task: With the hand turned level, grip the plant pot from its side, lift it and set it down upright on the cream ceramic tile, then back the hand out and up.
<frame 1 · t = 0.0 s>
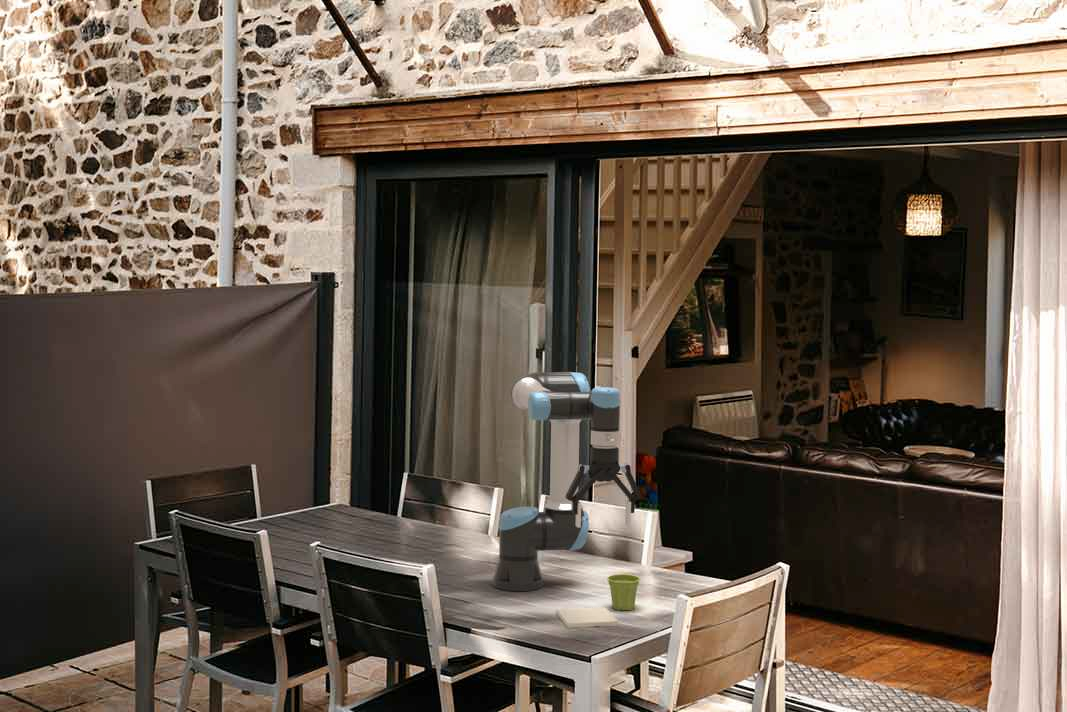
hand: (603, 526, 329), 28 cm above the table, tool pointing down, fingers open, 13 cm apart
plant pot: (623, 608, 353), on the table
tile: (586, 619, 341), on the table
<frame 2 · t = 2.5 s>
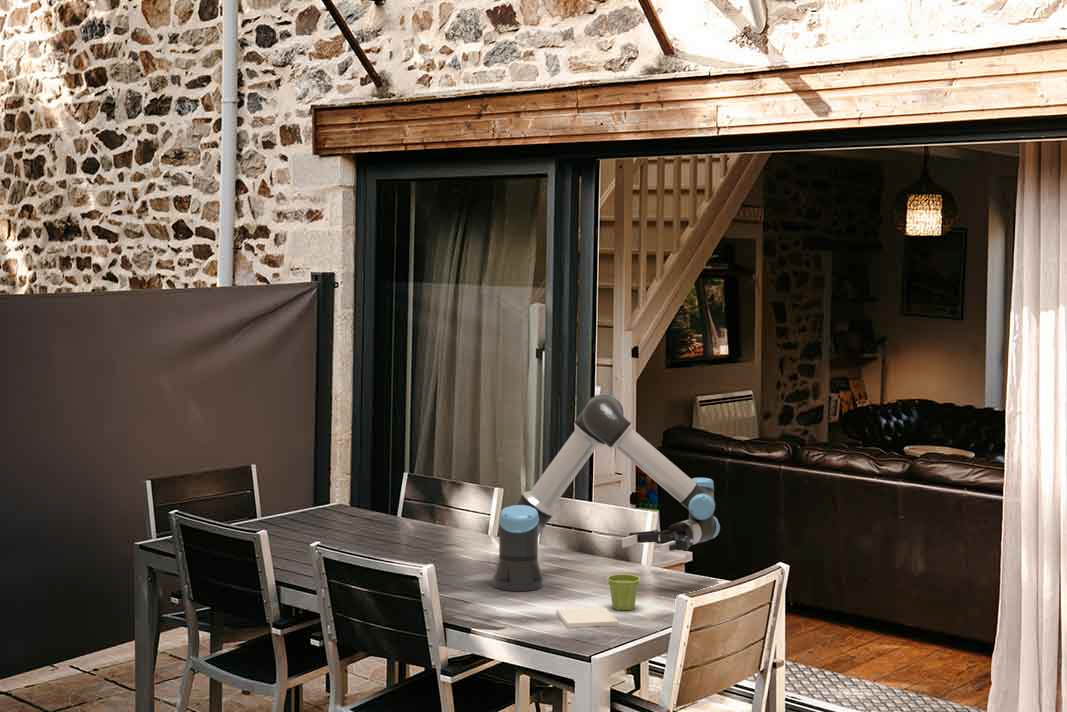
hand: (641, 546, 359), 16 cm above the table, tool horizontal, fingers open, 13 cm apart
nothing on the table moved.
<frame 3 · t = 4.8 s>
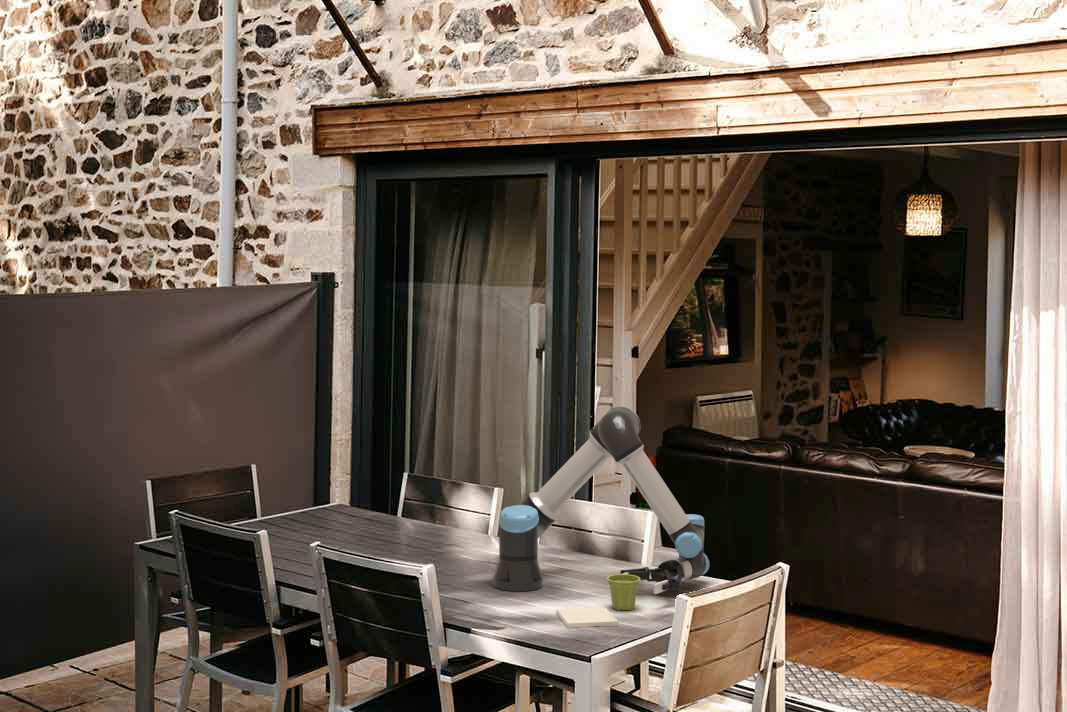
hand: (634, 585, 356), 6 cm above the table, tool horizontal, fingers open, 13 cm apart
nothing on the table moved.
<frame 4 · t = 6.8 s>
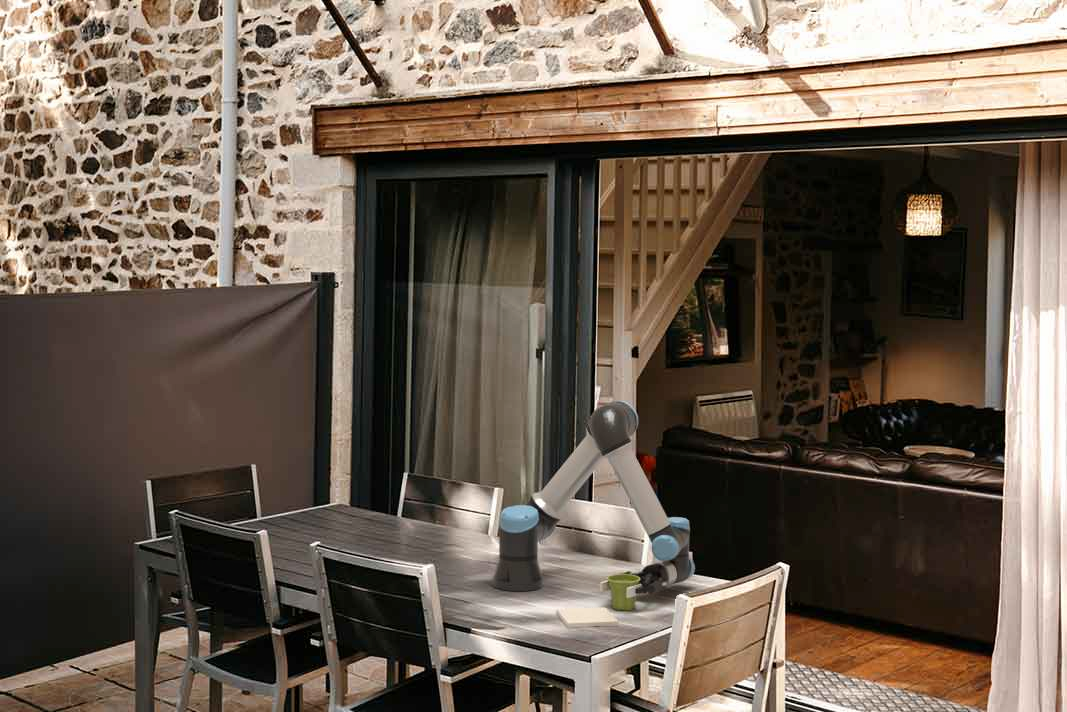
hand: (614, 590, 349), 6 cm above the table, tool horizontal, fingers closed on plant pot, 8 cm apart
plant pot: (623, 608, 353), on the table, touching gripper
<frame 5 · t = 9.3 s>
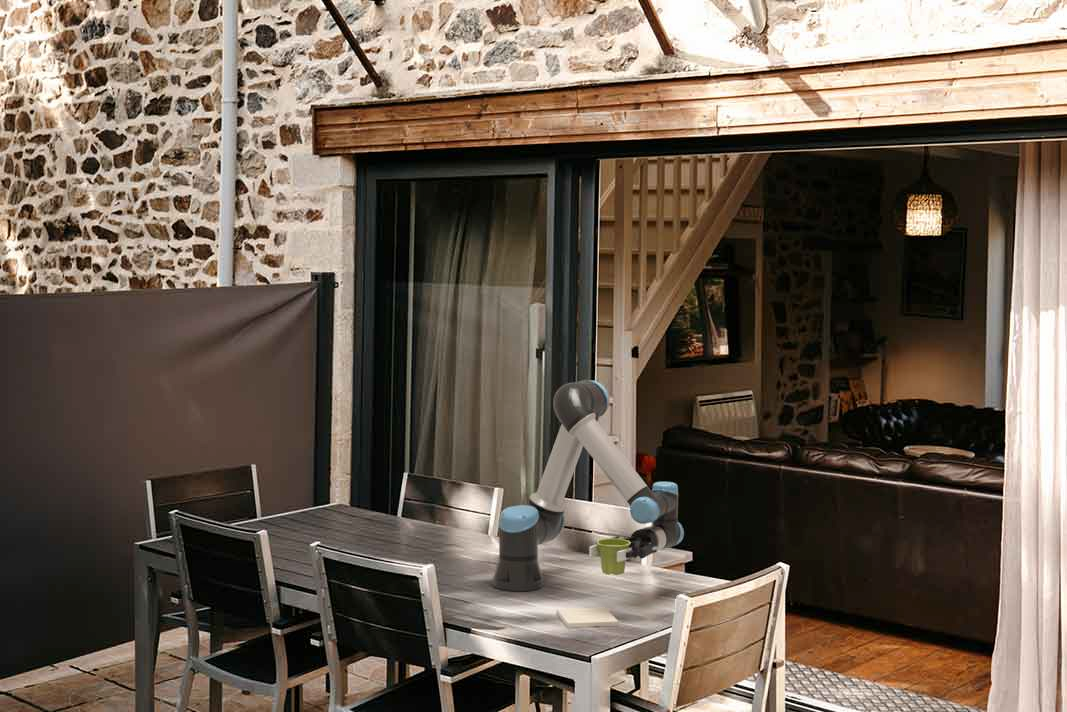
hand: (604, 554, 342), 18 cm above the table, tool horizontal, fingers closed on plant pot, 8 cm apart
plant pot: (612, 573, 346), point 11 cm above the table, touching gripper
when the fingers open (8 cm above the table, at t = 12.1 s): plant pot drops 1 cm, resting on tile.
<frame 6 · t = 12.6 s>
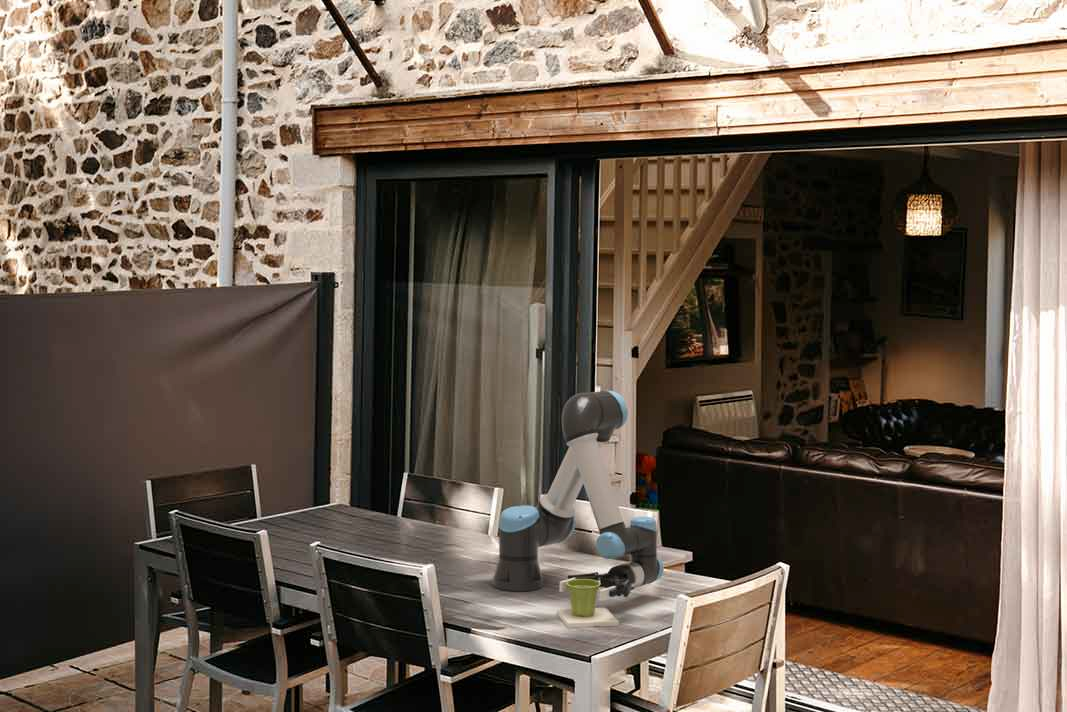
hand: (580, 591, 338), 8 cm above the table, tool horizontal, fingers open, 13 cm apart
plant pot: (582, 614, 342), point 1 cm above the table, touching tile
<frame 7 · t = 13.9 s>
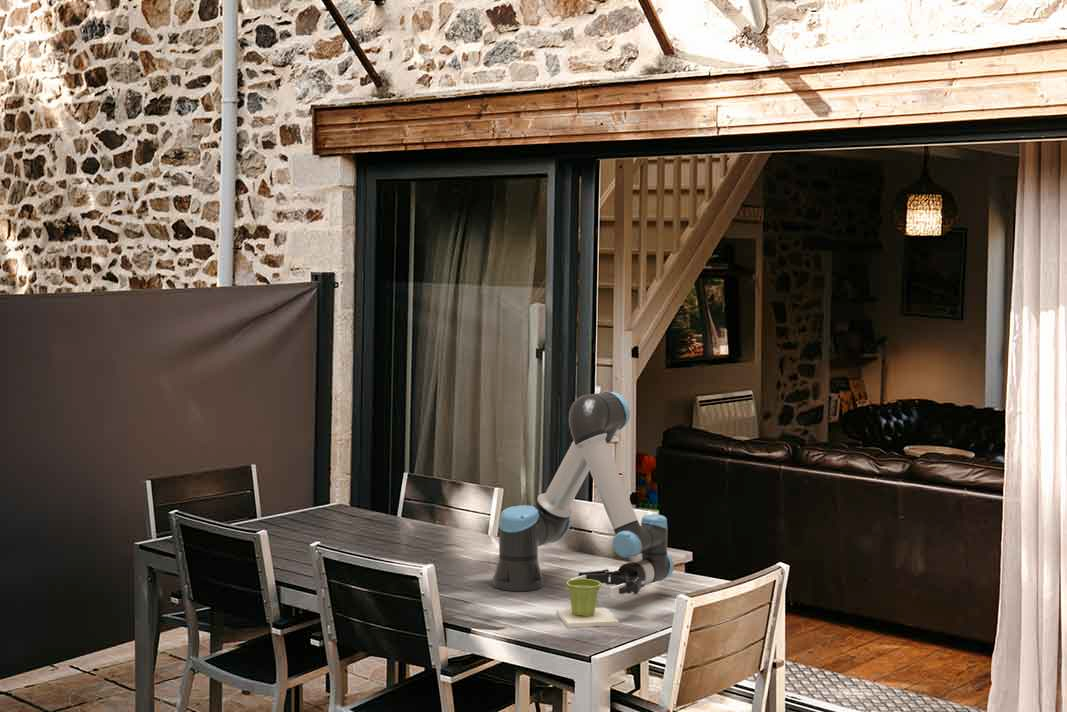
hand: (590, 588, 341), 8 cm above the table, tool horizontal, fingers open, 13 cm apart
nothing on the table moved.
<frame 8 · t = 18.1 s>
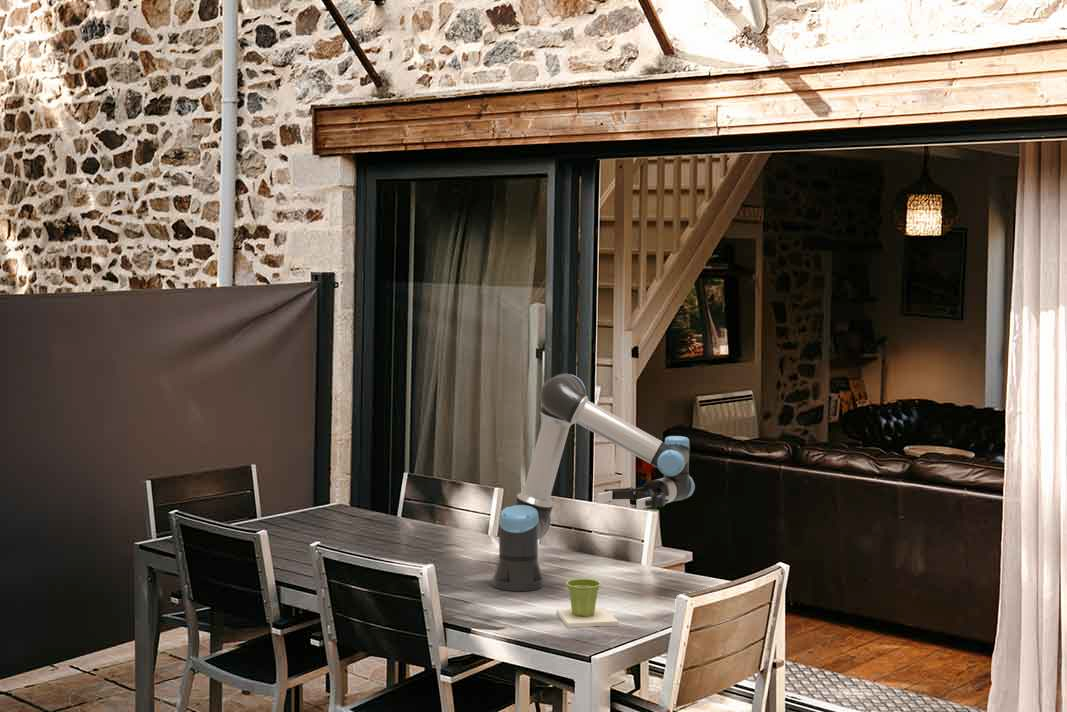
hand: (617, 501, 354), 30 cm above the table, tool horizontal, fingers open, 13 cm apart
nothing on the table moved.
at the end: plant pot inside the target area on the tile (1.7 cm from its centre), point 1.0 cm above the tile's base; plant pot tilted 0°; the gripper is holding nothing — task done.
